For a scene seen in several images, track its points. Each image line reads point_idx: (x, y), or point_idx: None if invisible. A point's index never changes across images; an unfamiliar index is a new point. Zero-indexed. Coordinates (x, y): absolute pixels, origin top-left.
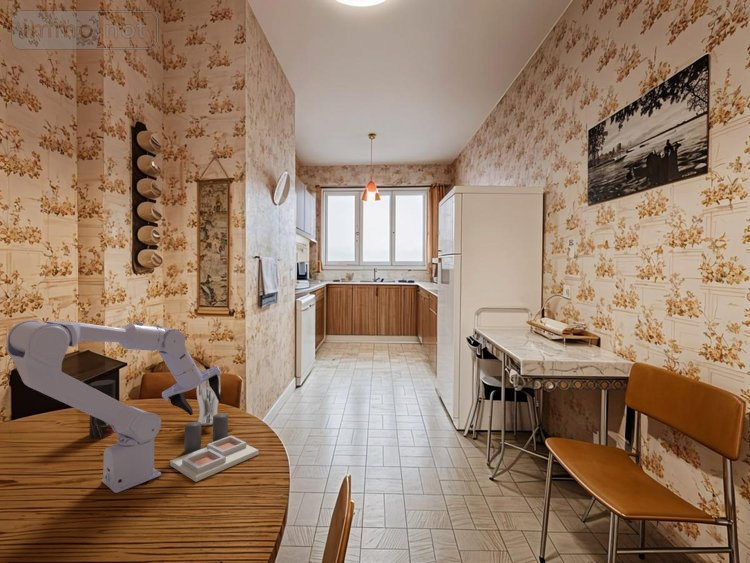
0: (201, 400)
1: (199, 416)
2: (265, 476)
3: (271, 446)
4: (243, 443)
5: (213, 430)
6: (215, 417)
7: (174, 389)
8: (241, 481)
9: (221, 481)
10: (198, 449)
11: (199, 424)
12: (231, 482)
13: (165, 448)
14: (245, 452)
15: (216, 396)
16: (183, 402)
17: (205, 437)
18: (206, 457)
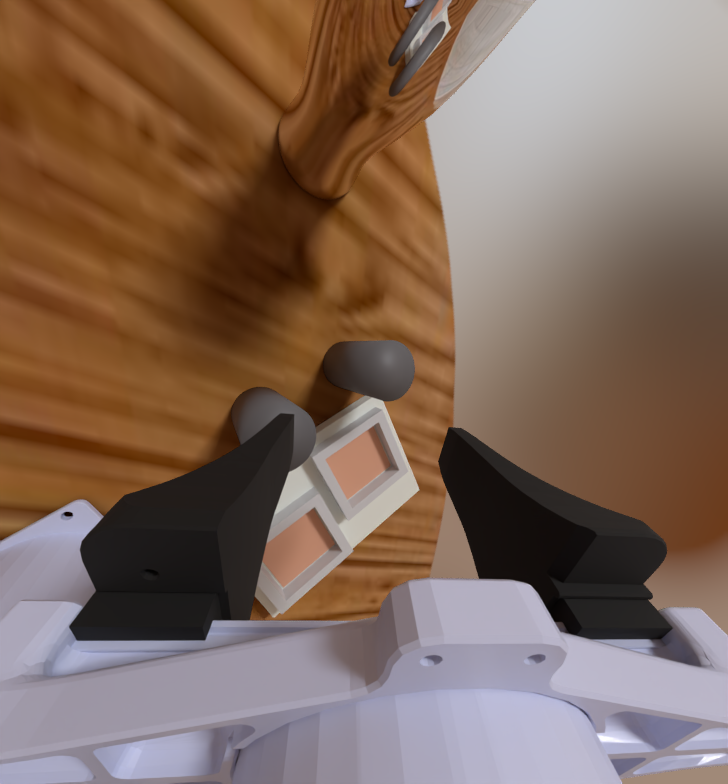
0: (335, 96)
1: (294, 129)
2: (404, 580)
3: (441, 449)
4: (401, 476)
5: (341, 377)
6: (372, 382)
7: (147, 761)
8: (363, 599)
9: (327, 600)
10: None
11: (308, 446)
12: (345, 603)
13: (148, 357)
14: (393, 498)
15: (453, 501)
16: (256, 580)
17: (303, 318)
18: (303, 515)
